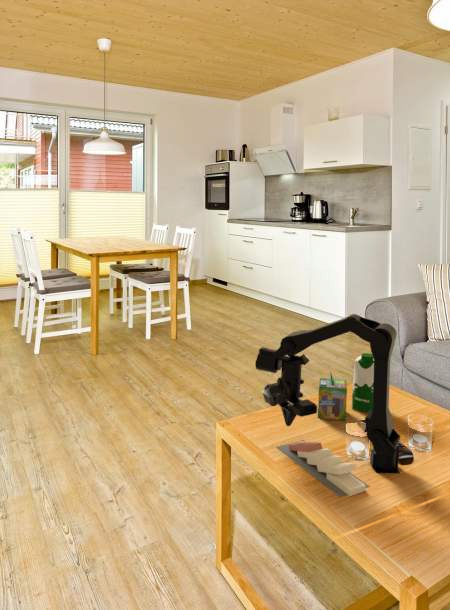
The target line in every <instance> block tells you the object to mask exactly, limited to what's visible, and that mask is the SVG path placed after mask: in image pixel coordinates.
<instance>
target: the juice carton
mask: <svg viewBox="0 0 450 610" xmlns="http://www.w3.org/2000/svg"><path fill="white" fill-rule="evenodd" d="M329 376H330V377H329V378H324V377H320V378H319V383H318V384H319V385H318V403H317V419H323V420H328V421H329V420H330V421H331V420H333V421H341V422H346V418H347V396H348V395H347V394H348V386H347V380H346V379H340V378H339V379H338V378H334V377H333V375H332V371H329Z"/></svg>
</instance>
